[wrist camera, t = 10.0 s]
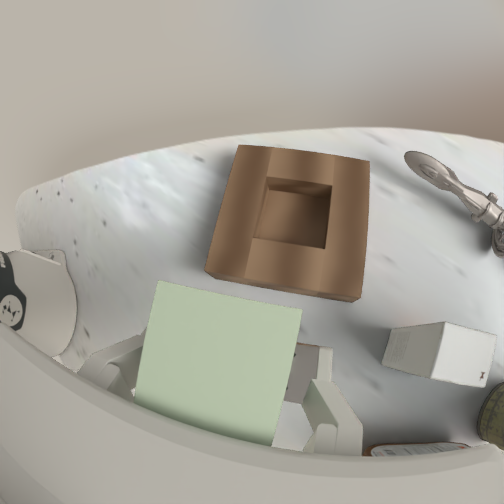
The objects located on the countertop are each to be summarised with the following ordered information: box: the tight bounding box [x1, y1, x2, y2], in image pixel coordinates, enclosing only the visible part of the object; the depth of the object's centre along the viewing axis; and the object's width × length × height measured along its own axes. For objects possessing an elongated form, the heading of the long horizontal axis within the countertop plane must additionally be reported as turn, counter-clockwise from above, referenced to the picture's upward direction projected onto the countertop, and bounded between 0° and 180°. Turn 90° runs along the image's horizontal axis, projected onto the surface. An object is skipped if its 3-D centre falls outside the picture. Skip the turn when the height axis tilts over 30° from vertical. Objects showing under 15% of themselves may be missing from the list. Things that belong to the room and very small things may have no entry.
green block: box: [134, 280, 303, 446], centre depth 11 cm, size 4×4×9 cm
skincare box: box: [381, 322, 497, 388], centre depth 19 cm, size 6×4×12 cm
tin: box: [362, 442, 471, 457], centre depth 17 cm, size 15×3×8 cm, turn 77°
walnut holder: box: [204, 145, 370, 303], centre depth 29 cm, size 15×15×4 cm
